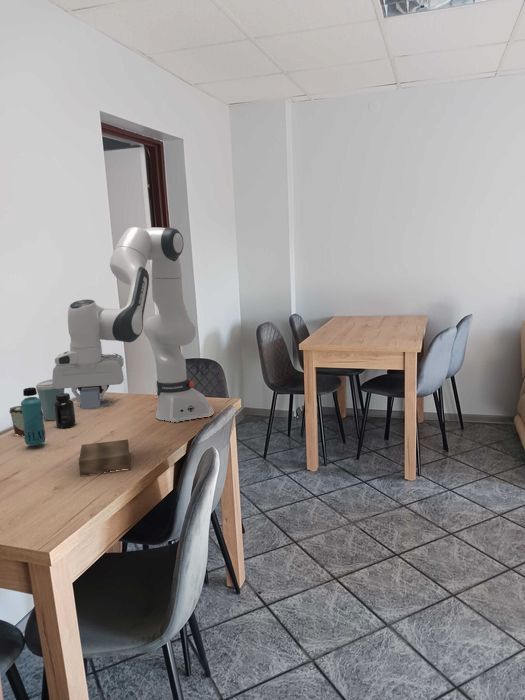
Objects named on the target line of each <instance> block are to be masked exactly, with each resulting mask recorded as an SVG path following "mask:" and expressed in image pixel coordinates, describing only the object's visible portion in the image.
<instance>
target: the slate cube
mask: <svg viewBox="0 0 525 700" xmlns="http://www.w3.org/2000/svg"><path fill="white" fill-rule="evenodd" d="M79 395H80V399H81V402H80V404H81V407H80V408H81V410H82V409H84V408H96V409H98V408H97V407H99V405H100V400H99V387H93V388H82V389H81V391H79ZM84 410H85V409H84Z"/></svg>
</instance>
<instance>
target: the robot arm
mask: <svg viewBox="0 0 525 700" xmlns="http://www.w3.org/2000/svg"><path fill="white" fill-rule="evenodd" d="M183 250H184V237H183V235H182V234H181V232H180V231H179V230H178V229H176V228H174V227H157V226H156V227H147V228H142V227H140V226H131V227H128V228H127V229H125V231H124V233H122V235H121V236H120V238H119V240H118V242H117V244H116V245H115V248H114V250H113V252H112V255H111V257H110V262H109V267H110V270H111V273H112V274H113V275H114V277H115V278H116V279H117V280H118V281H120V282H121V283H124V284H126V285H129V286H130V288H129V293H128V299H127V303H126V305H125V306H124V307H122V308H104V307H101V306H99V305H98V304H96V300H93V299H81V300H76V301H74V302H72V303H71V304H69V306H68V310H67V328H68V334H69V337H70V343H69V344H70V345H69V350H68V351H65V352H63V353H62V352H61V353H59V354H57V355H56V356H55V358H54V364H55V366H54V367H53V369H52V378H51V379H52V381H53V387H54V388H56V389H62V388H64V389H71V392H72V394H73V395H74V396H75V399H76V403H81V399H80V393H79V392H78V388H77V387H90V386H102V389H104V390H103V392H102V393H99V400H104V399H105V393H106V392H107V391H106V389H107V385H109V386H116V385H117V386H118V385H121V384H123V382H124V380H125V379H124V377H125V375H124V370H123V367H124V358H123V356H122V355H120V354H119V353H112V354H111V353H106V354H105V353H103V349H102V341H101V340H103V341H114V342H115V341H117V342H124V343H133V342H135V341H136V340H137V339H138V338H139V337H140V336H141V334H142V333H144V335H145V336H146V338H147V339H148V341H149V343H150V346H151V349H152V353H153V355H154V359H155V366H156V376H157V377H156V378H157V380H156V384H155V385H156V395H157V408H156V412H155V413H156V414H155V418H156V419H158V420H160V421H164V420H165V422H170V421H171V422H170V423H174V422H176V423H180V422H179V421H183V422H185V421H184V420H189V421H191V420H190V419H195V418H199V417H203V416H208V415H212V414H213V413H214V414H215V410H214V411H213V409H214V408H213V407H212V406H211V407H212V408H213V409H212V408H211V407H209V406H210V405H209V402H208V400H207V397H206V396H205V395H204V394H203V393H201V392H200V391H198V390H197V389H195V388H194V387H195V382H194V381H193V380H192V379H191V378H187V377H188V376H187V375H188V374H187V363H186V358H185V356H184V354H182V352H181V350H180V349H181V348H180V347H183V346H187V345H191V343H192V342H193V341H194V340H195V337H196V333H197V330H196V325H195V324H194V322H192V320H191V319H190V317H189V314H188V312H187V310H186V306H185V302H184V296H183V295H184V294H183V278H182V277H183V276H182V275H183V274H182V266H181V262H180V256H181V254H182V253H183ZM148 260H149V261H151V269H150V270H151V272H150V273H151V292H152V293H151V294H152V296H151V297H152V298H151V299H152V301H153V302H154V304H155V305H156V307H157V309H158V313H159V314H155V315H151V316H148V317H147V318H146V319H145V321H144V314H145V307H146V302H147V296H148V292H149V288H150V287H149V286H150V275H149V274H150V273H148V270H147V269H146V265H147V263H148ZM107 390H108V389H107ZM105 391H106V392H105ZM209 412H213V413H209Z"/></svg>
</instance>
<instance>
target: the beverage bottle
mask: <svg viewBox="0 0 525 700" xmlns="http://www.w3.org/2000/svg"><path fill="white" fill-rule="evenodd" d="M22 392H23V393H22V395H23V397H26V398H23V399H22V401H21V402H20V406H21V407H22V415H23V423H24V429H23V430H24V435H25V437H24V442H25V443H24V444H26V445H27V446H36V445H41V444H44V443H45V441H46V430H45V423H44V414H43V410H42V406H41V400H40V399H39V397H37V396H36V395H38V392H37V388H36V387H26V388H23V391H22Z"/></svg>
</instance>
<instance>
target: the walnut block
mask: <svg viewBox="0 0 525 700" xmlns="http://www.w3.org/2000/svg"><path fill="white" fill-rule="evenodd" d="M129 444H130V443H129V439H120V440H119V439H118V440H111V441H103V442H93V443H84V444H81V448H80V453H79V456H78V457H79V458H78V466H79V467H78V468H79V476H80V477H82V476H81V475H87V476H91V475H90V474H95V475H99V474H98V473H102V474H105V473H104V472H110V471H116V470H122V469H130V470H131V461H130V460H131V458H130V446H129ZM110 473H111V472H110Z"/></svg>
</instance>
